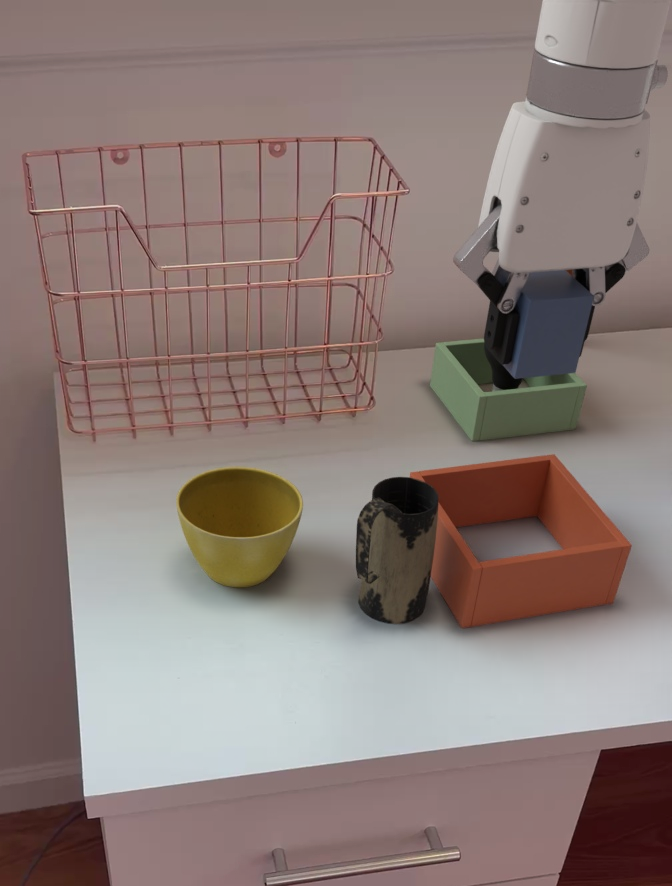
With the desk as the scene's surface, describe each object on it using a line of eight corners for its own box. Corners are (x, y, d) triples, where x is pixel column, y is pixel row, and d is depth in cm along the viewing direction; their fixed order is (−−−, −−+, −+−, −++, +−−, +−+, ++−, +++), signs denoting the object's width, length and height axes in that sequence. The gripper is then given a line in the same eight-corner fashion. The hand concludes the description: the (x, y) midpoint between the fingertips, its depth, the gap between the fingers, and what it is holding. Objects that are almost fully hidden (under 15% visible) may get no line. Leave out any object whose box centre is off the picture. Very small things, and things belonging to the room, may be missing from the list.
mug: (385, 576, 87) (400, 454, 79) (439, 606, 84) (460, 482, 76) (325, 621, 82) (335, 497, 74) (380, 654, 80) (396, 528, 72)
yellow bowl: (279, 527, 91) (281, 458, 87) (315, 598, 84) (320, 527, 80) (167, 545, 89) (163, 474, 84) (195, 619, 82) (193, 547, 77)
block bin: (539, 515, 95) (554, 453, 90) (611, 608, 85) (632, 545, 81) (401, 535, 91) (409, 471, 87) (460, 634, 82) (473, 569, 77)
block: (546, 342, 80) (562, 267, 76) (575, 373, 77) (594, 295, 73) (487, 348, 79) (500, 271, 75) (514, 379, 75) (530, 300, 71)
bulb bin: (526, 380, 114) (536, 333, 110) (574, 434, 106) (587, 385, 102) (428, 390, 111) (435, 342, 107) (471, 447, 103) (479, 396, 99)
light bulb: (536, 402, 109) (556, 313, 102) (518, 427, 105) (538, 335, 99) (484, 388, 111) (500, 299, 104) (465, 411, 107) (480, 320, 100)
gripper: (674, 68, 70) (609, 322, 82) (441, 73, 66) (409, 339, 78) (737, 100, 65) (657, 366, 77) (488, 108, 61) (445, 387, 73)
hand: (533, 350), depth 77 cm, fingers closed on block, 5 cm apart
